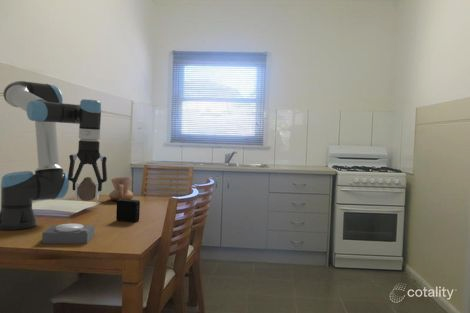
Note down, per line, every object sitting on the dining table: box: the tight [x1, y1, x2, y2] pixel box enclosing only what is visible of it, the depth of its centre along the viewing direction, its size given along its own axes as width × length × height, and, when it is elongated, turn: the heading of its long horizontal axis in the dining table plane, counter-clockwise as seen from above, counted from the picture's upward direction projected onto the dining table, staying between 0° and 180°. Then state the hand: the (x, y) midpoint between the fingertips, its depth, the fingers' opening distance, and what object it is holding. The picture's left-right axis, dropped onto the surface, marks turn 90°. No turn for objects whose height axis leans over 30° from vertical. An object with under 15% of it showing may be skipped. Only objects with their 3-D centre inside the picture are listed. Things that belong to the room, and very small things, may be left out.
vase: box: [78, 176, 96, 202], centre depth 148 cm, size 7×7×9 cm
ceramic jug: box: [108, 176, 134, 202], centre depth 237 cm, size 18×14×14 cm
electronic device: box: [115, 199, 141, 223], centre depth 184 cm, size 4×10×10 cm, turn 78°
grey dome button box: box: [41, 223, 95, 245], centre depth 148 cm, size 16×12×5 cm
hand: (86, 199), depth 148 cm, fingers closed on vase, 7 cm apart
